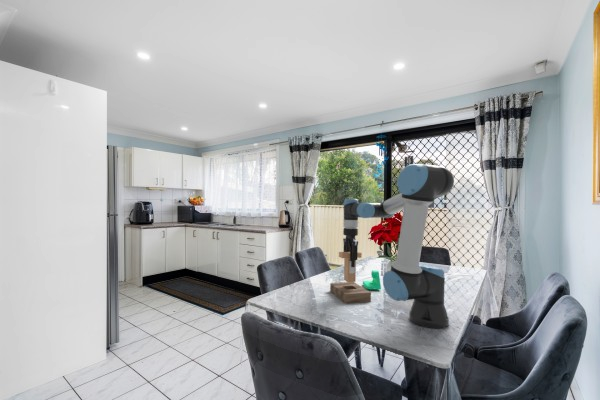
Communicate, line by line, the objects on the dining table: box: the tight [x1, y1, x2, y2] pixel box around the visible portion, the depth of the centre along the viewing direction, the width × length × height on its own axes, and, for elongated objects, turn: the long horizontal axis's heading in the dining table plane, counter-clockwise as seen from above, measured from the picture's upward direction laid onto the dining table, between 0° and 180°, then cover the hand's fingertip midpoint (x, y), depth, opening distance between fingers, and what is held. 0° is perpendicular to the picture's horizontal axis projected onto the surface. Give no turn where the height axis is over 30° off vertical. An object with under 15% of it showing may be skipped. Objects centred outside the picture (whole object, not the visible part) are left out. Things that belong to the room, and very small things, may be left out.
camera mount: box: [362, 270, 382, 290], centre depth 167 cm, size 12×8×10 cm, turn 1°
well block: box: [329, 281, 372, 304], centre depth 151 cm, size 20×14×4 cm
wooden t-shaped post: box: [338, 251, 363, 283], centre depth 151 cm, size 4×11×15 cm, turn 105°
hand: (349, 271), depth 151 cm, fingers closed on wooden t-shaped post, 4 cm apart
